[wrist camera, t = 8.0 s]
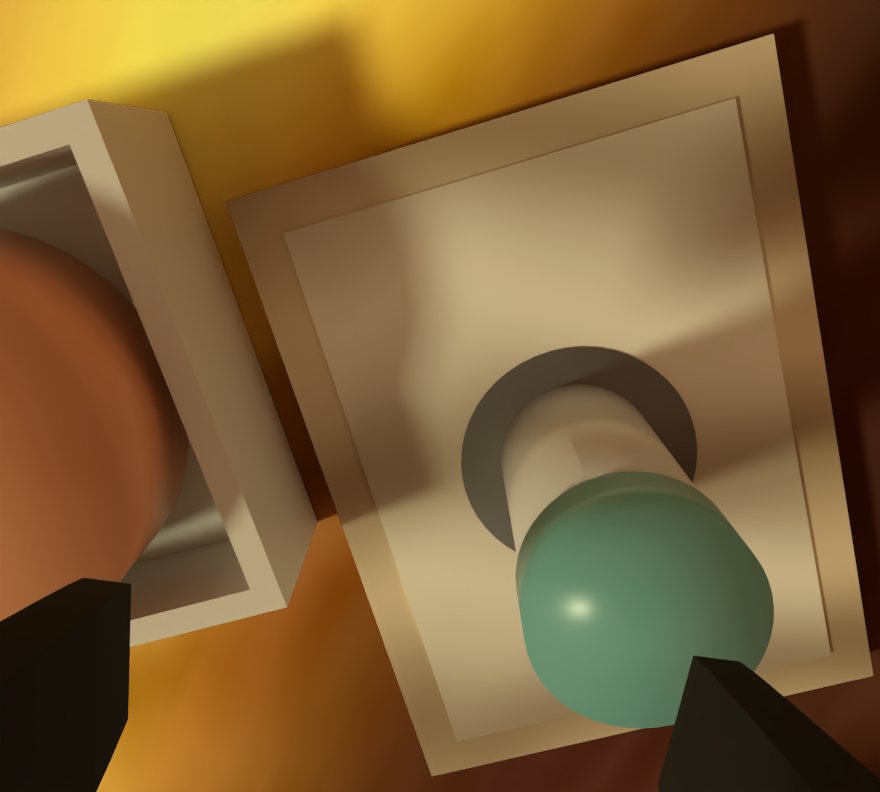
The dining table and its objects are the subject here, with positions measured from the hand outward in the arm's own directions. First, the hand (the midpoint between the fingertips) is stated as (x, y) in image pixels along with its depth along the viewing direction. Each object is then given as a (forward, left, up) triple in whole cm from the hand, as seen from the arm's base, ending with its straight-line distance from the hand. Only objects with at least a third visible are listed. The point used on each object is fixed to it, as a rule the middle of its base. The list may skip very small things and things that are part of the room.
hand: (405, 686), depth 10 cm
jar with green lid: (-1, -3, -9) cm, 10 cm away
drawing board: (-2, -3, -10) cm, 11 cm away
